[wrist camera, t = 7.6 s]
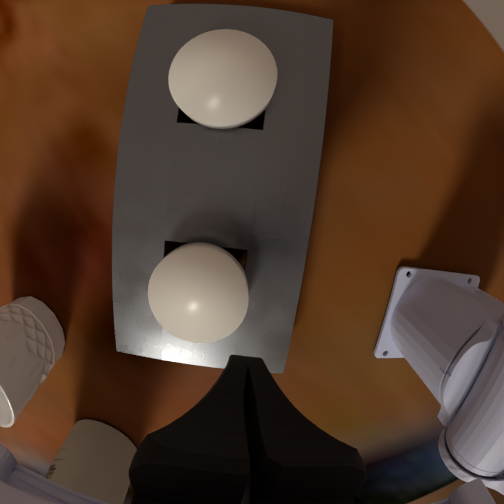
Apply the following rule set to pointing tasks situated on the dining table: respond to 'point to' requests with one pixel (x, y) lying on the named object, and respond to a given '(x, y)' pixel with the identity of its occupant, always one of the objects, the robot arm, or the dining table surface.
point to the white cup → (25, 353)
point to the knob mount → (219, 181)
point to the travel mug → (94, 461)
